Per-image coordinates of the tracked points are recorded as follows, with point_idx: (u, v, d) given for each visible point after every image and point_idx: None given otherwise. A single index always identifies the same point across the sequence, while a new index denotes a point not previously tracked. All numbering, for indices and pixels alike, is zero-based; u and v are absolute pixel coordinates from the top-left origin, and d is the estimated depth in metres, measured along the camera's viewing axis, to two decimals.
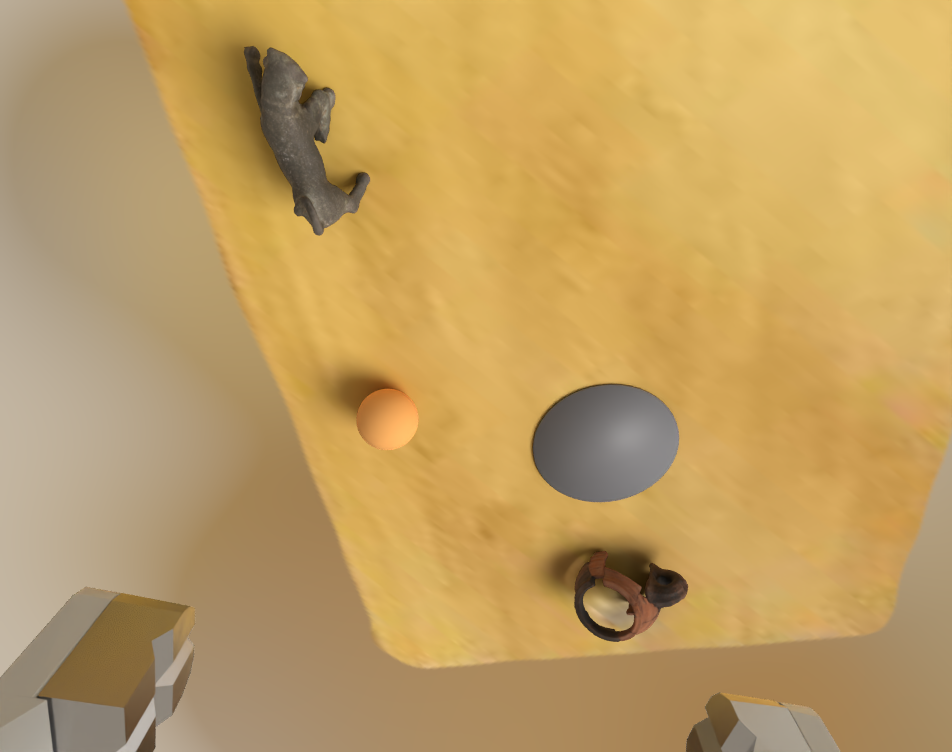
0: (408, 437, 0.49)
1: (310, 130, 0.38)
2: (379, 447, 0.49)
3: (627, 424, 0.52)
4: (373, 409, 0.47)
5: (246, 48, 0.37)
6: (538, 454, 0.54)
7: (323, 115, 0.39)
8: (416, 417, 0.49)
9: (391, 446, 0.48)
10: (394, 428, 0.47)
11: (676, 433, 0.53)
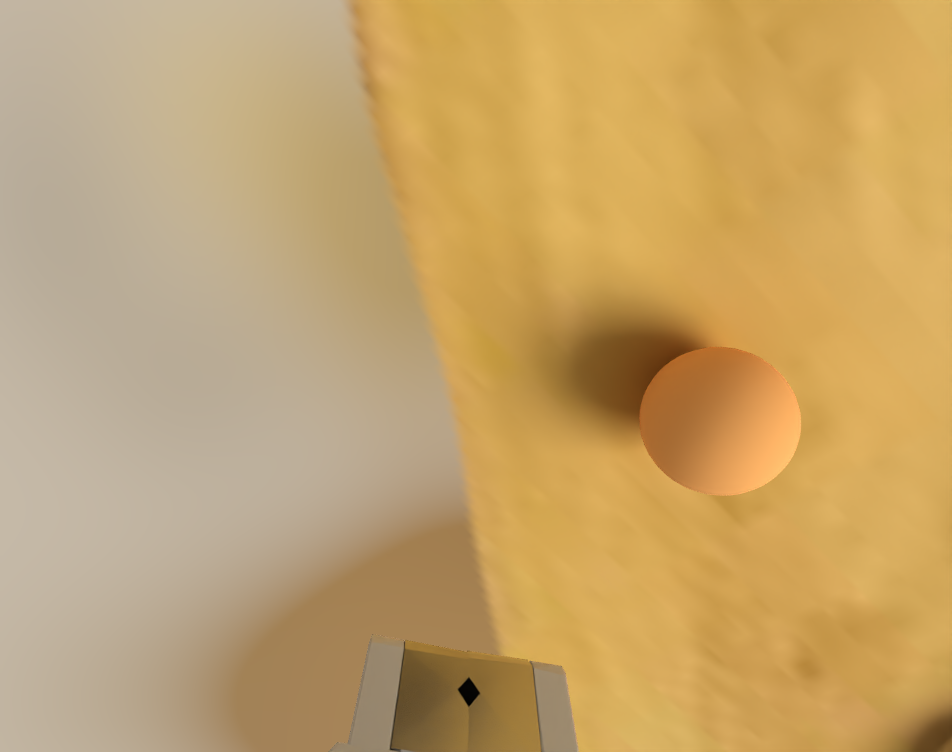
0: (788, 462, 0.20)
1: None
2: (720, 488, 0.19)
3: None
4: (721, 388, 0.18)
5: None
6: None
7: None
8: None
9: (754, 484, 0.19)
10: (780, 436, 0.18)
11: None
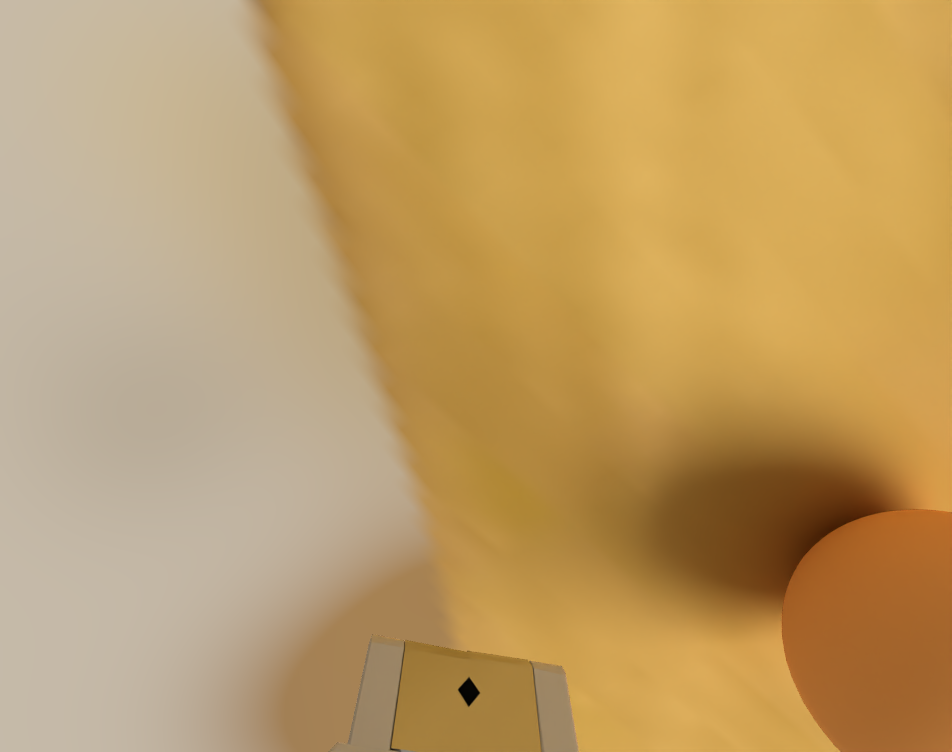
0: None
1: None
2: None
3: None
4: None
5: None
6: None
7: None
8: None
9: None
10: None
11: None
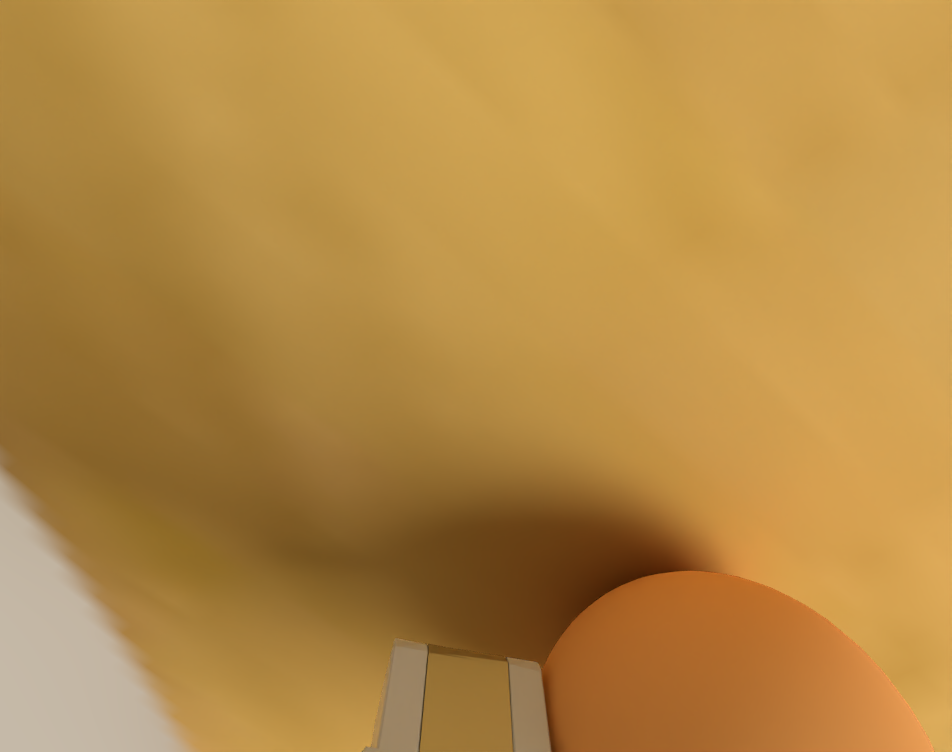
0: None
1: None
2: None
3: None
4: None
5: None
6: None
7: None
8: None
9: None
10: None
11: None
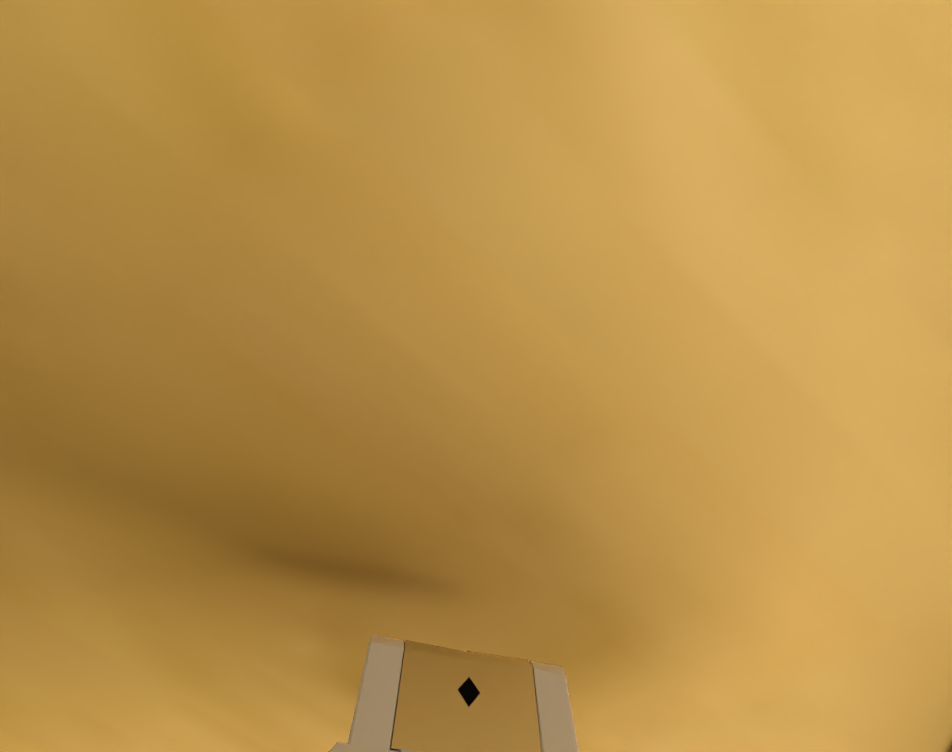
0: None
1: None
2: None
3: None
4: None
5: None
6: None
7: None
8: None
9: None
10: None
11: None
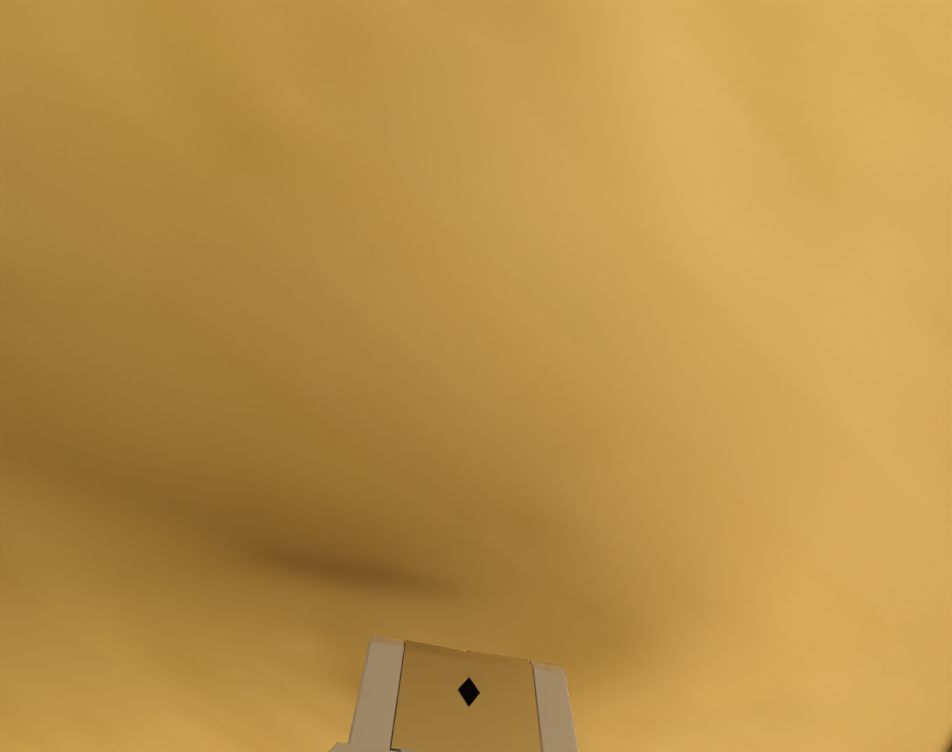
0: None
1: None
2: None
3: None
4: None
5: None
6: None
7: None
8: None
9: None
10: None
11: None
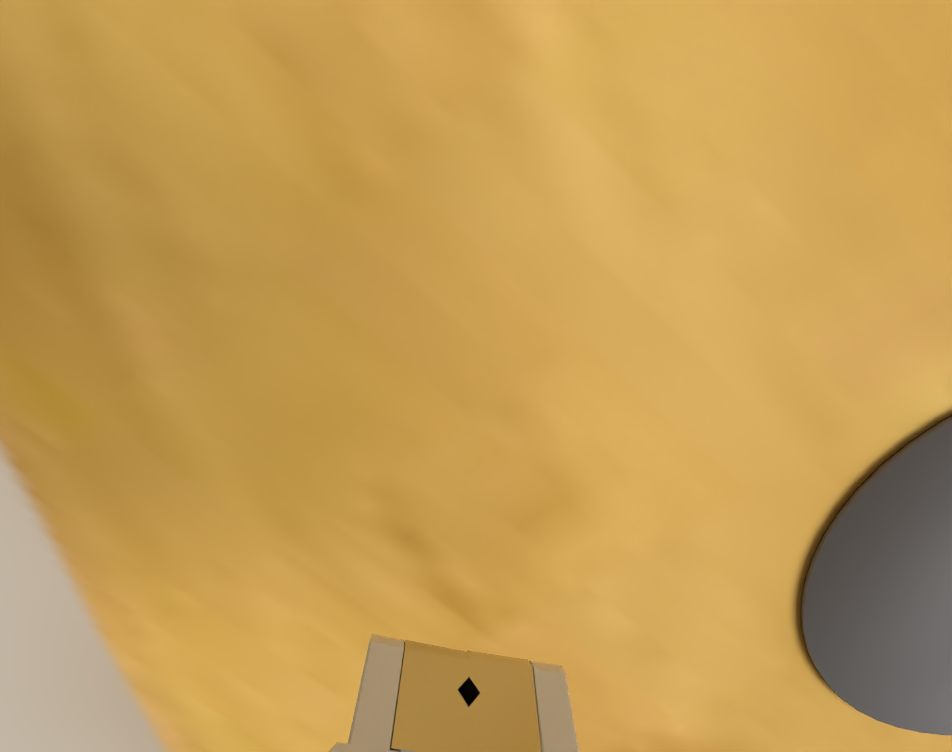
0: None
1: None
2: None
3: None
4: None
5: None
6: (820, 606, 0.17)
7: None
8: None
9: None
10: None
11: None
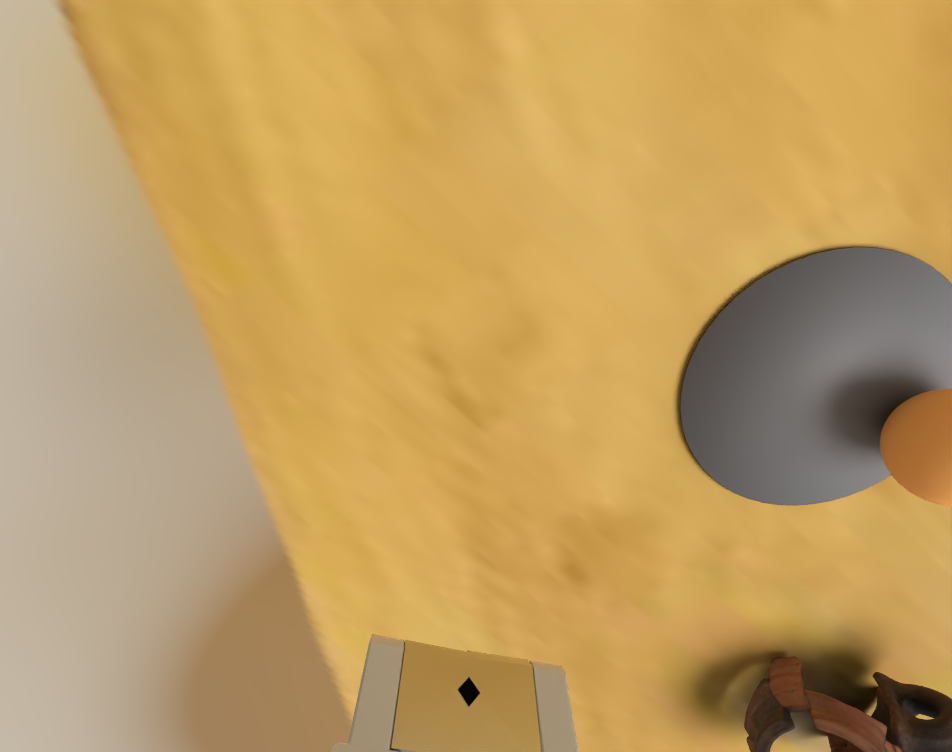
0: None
1: None
2: None
3: (875, 338, 0.26)
4: None
5: None
6: (691, 407, 0.28)
7: None
8: (911, 406, 0.26)
9: None
10: None
11: None
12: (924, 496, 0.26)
